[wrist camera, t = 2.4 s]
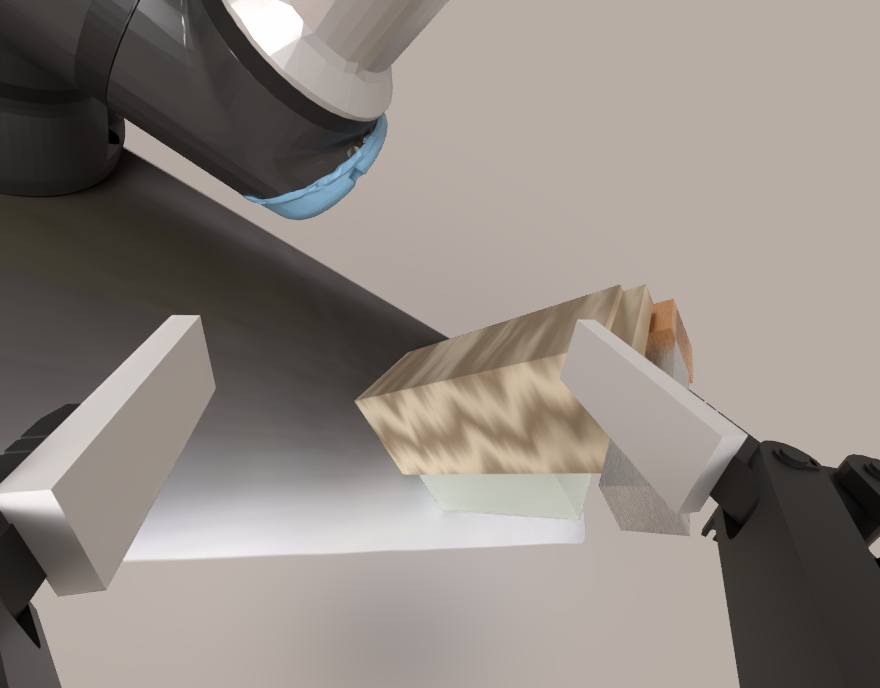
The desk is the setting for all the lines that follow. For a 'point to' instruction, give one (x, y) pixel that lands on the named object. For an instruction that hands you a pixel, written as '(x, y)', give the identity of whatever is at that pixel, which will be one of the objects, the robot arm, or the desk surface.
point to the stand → (501, 394)
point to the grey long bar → (620, 478)
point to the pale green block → (511, 493)
